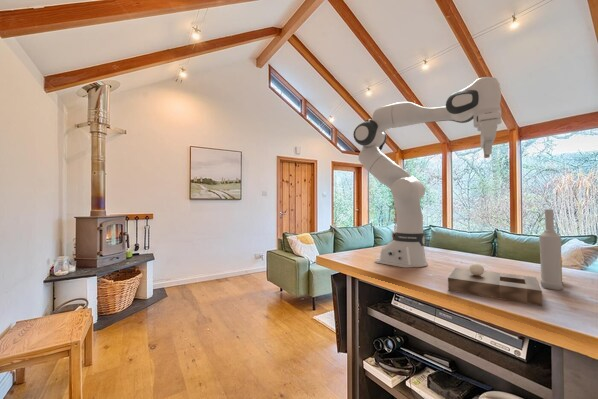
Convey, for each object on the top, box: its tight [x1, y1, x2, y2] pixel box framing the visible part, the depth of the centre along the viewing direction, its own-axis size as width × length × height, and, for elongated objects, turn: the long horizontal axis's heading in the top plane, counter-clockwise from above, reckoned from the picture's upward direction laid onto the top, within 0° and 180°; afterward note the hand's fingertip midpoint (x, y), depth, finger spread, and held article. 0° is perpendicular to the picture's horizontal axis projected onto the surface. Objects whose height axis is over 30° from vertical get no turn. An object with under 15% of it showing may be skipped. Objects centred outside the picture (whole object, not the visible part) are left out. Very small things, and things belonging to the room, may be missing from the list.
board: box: [447, 267, 543, 307], centre depth 84 cm, size 22×16×4 cm
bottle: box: [538, 209, 563, 291], centre depth 86 cm, size 5×5×25 cm
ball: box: [468, 262, 485, 276], centre depth 87 cm, size 4×4×4 cm
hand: (487, 156), depth 103 cm, fingers open, 8 cm apart
